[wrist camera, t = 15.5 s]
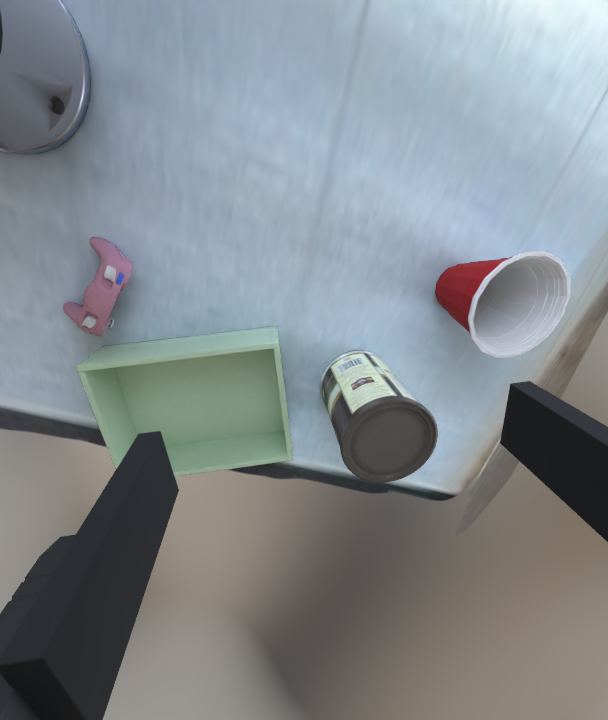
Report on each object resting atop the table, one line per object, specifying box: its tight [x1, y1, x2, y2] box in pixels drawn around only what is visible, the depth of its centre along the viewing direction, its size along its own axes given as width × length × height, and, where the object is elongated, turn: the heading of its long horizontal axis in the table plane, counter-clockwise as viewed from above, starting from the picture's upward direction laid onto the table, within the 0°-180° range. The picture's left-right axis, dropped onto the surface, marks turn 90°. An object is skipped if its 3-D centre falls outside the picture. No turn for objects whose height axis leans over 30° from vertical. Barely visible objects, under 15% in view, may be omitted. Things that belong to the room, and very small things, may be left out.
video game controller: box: [63, 237, 133, 336], centre depth 36 cm, size 10×5×7 cm, turn 147°
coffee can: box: [320, 351, 438, 482], centre depth 40 cm, size 10×10×14 cm
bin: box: [76, 326, 294, 477], centre depth 42 cm, size 16×22×6 cm
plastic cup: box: [435, 252, 570, 358], centre depth 37 cm, size 11×11×12 cm
